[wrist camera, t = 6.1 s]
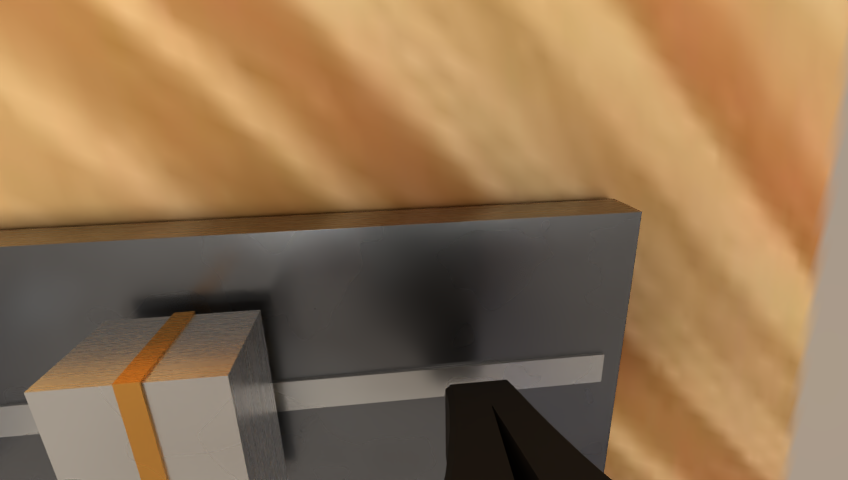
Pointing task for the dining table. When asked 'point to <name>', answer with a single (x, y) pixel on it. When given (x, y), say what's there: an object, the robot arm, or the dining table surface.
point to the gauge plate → (347, 319)
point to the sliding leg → (163, 402)
